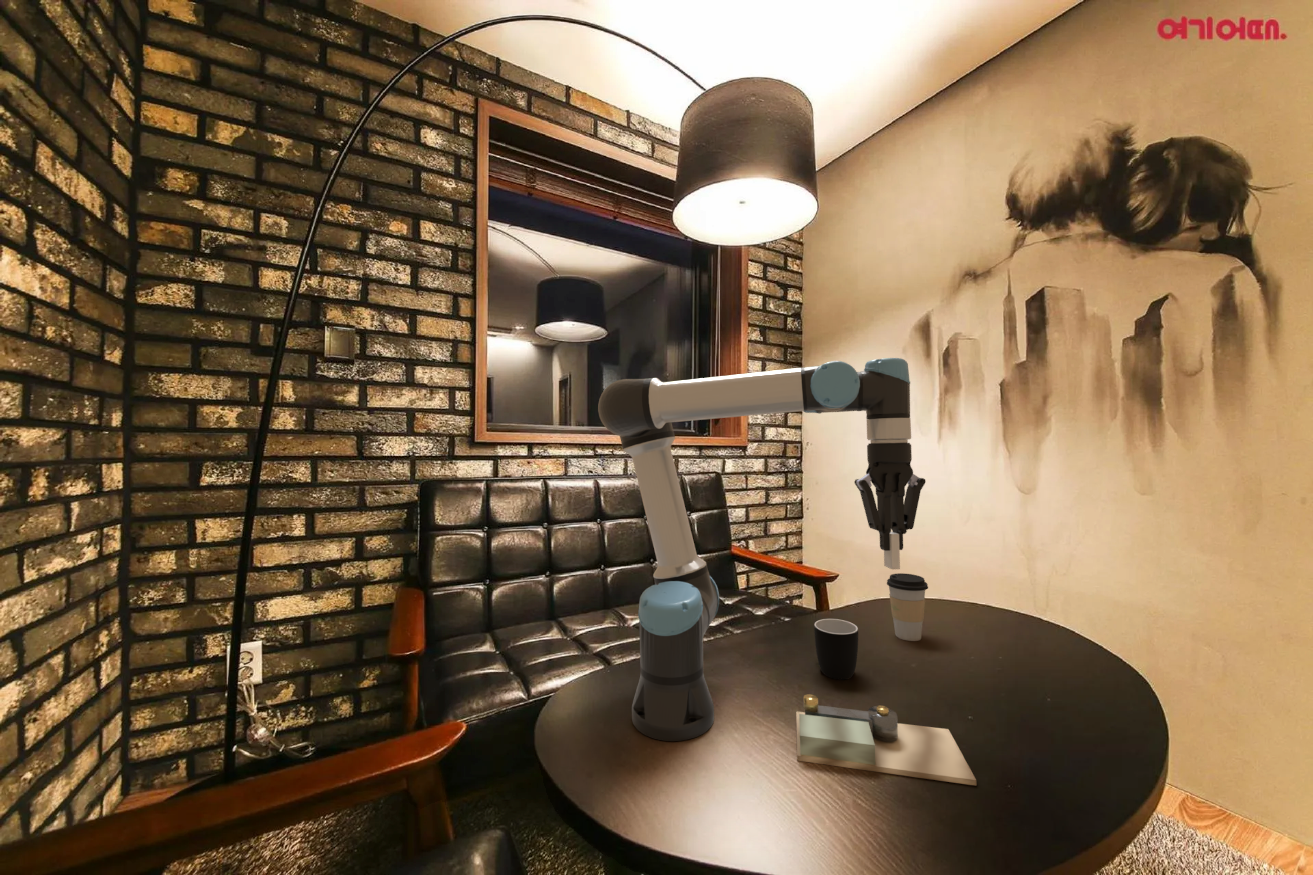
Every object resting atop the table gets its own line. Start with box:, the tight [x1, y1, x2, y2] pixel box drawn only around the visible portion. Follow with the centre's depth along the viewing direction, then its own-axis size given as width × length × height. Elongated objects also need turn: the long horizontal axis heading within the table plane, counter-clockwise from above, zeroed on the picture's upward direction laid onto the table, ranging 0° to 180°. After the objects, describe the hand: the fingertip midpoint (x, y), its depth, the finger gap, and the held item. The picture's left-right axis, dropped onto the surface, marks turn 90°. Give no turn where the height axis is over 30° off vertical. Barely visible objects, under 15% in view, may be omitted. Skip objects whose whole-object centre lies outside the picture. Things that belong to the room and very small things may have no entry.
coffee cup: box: [886, 572, 929, 642], centre depth 125 cm, size 9×9×15 cm
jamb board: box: [795, 711, 977, 786], centre depth 81 cm, size 25×13×4 cm, turn 75°
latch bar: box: [803, 693, 898, 742], centre depth 84 cm, size 15×4×5 cm, turn 73°
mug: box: [813, 618, 859, 680], centre depth 108 cm, size 12×9×10 cm
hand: (892, 567), depth 92 cm, fingers closed
